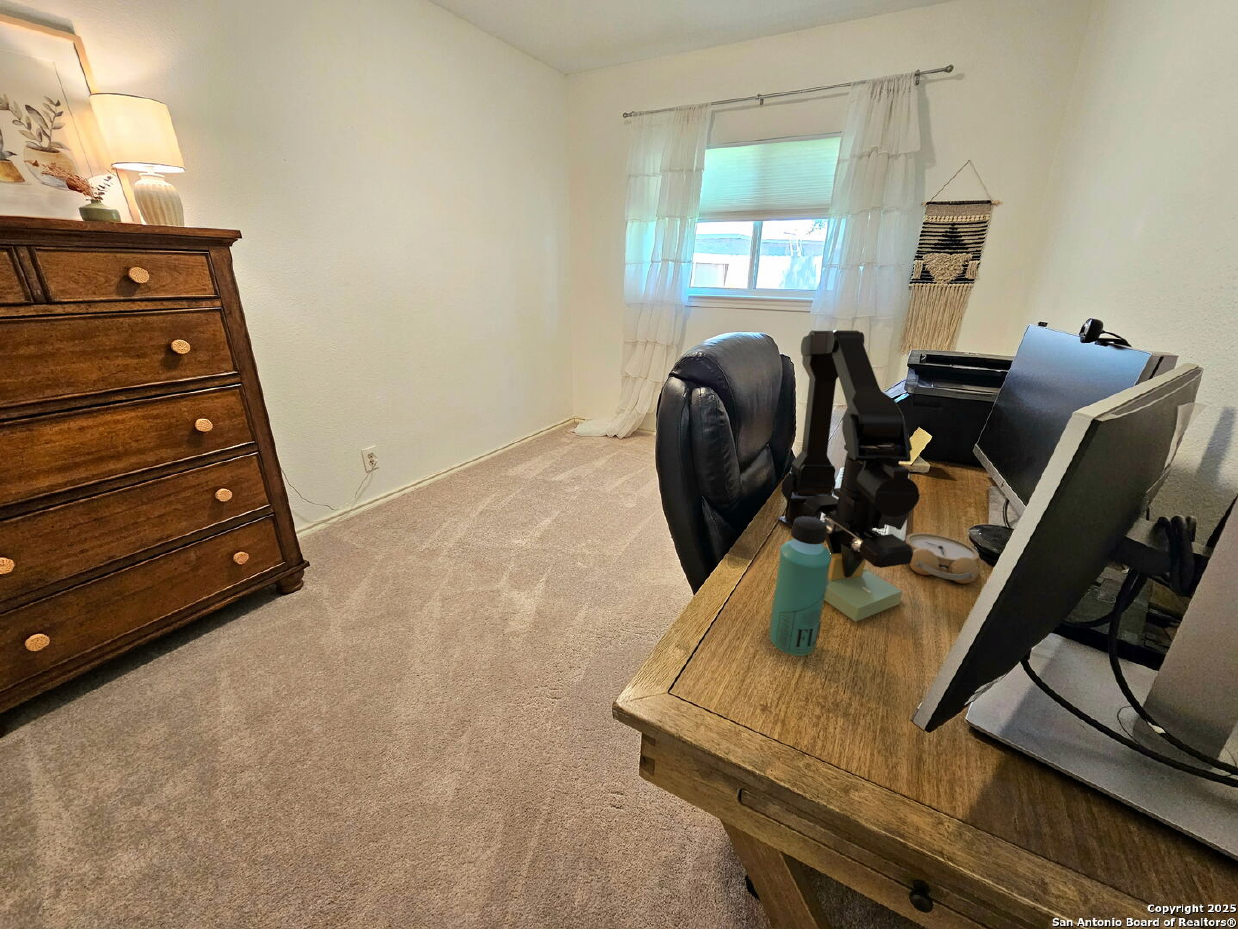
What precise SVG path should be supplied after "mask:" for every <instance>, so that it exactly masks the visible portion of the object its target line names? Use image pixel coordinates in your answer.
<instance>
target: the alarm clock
mask: <svg viewBox="0 0 1238 929" xmlns="http://www.w3.org/2000/svg"><path fill="white" fill-rule="evenodd" d="M905 542H906V543H907V544H909V545H910V546H911V547H912V549H913V550H914V551H913V556H912V560H911V563H910V564H909V567H910V568H911V569H912V570H913V572H915V573H917V574H918V575H921V576H930V575H933V576H935V577H939V578H942V579H946V580H951V581H954V582H956V583H957V584H962V585H963V584H965V585H966V584H969V583H972V582H974V581H975V580H976V579H977V578H978V576H979V574H980V568H979V565H978V560H979V558H980V553H979V552H978V551H977V550H976V549H975V548H974V547H973V546H971V545H970V544H967V543H965V542H963V541H961V540H959V539H955V538H953V537H949V536H946V535H941V534H938V533H937V534H936V533H929V532H913V533H912V532H911V533H910V534H907V535H906V537H905Z"/></svg>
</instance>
